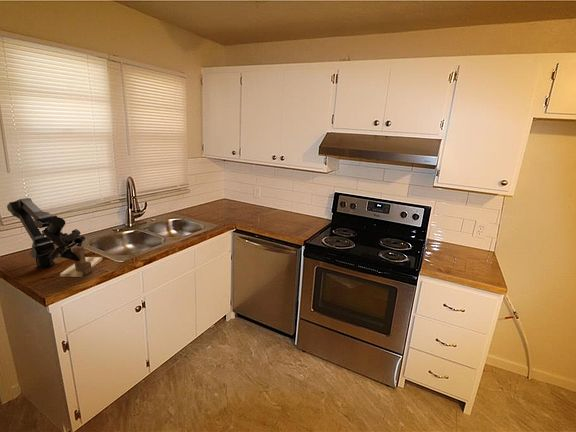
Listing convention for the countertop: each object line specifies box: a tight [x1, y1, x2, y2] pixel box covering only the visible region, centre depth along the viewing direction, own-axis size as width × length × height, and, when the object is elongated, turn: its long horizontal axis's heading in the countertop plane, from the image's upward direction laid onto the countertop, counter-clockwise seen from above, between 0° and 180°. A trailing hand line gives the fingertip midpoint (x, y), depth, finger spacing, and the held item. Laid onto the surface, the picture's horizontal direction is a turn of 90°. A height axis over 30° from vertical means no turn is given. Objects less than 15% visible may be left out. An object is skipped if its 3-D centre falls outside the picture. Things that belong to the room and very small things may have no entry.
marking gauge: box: [71, 245, 93, 276], centre depth 156 cm, size 6×5×14 cm
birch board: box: [59, 256, 103, 278], centre depth 163 cm, size 10×20×2 cm, turn 3°
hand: (82, 258), depth 155 cm, fingers open, 5 cm apart
